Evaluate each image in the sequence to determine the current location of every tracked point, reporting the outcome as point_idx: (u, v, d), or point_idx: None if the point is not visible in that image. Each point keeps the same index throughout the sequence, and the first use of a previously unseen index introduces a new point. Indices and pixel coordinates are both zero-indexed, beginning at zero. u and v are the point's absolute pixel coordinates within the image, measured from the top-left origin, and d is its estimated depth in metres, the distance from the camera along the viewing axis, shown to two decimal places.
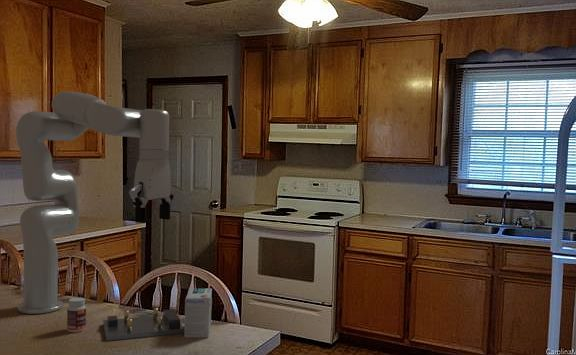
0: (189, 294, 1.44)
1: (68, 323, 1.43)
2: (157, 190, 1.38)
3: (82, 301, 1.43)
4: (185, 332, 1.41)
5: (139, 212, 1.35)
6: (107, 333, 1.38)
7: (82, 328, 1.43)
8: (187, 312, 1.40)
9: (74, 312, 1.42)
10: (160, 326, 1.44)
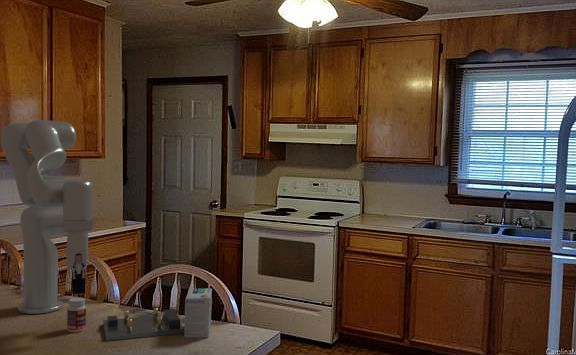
0: (189, 294, 1.44)
1: (68, 323, 1.43)
2: None
3: (82, 301, 1.43)
4: (185, 332, 1.41)
5: (80, 283, 1.38)
6: (107, 333, 1.38)
7: (82, 328, 1.43)
8: (187, 312, 1.40)
9: (74, 312, 1.42)
10: (160, 326, 1.44)
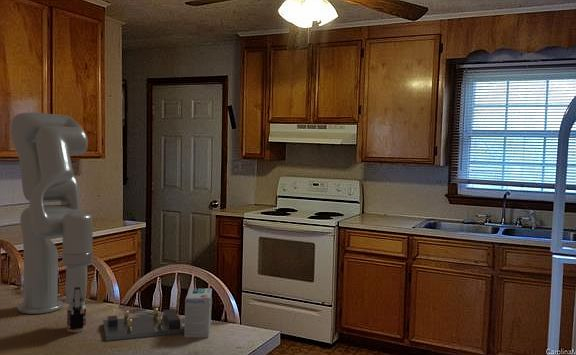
0: (189, 294, 1.44)
1: (68, 323, 1.43)
2: None
3: None
4: (185, 332, 1.41)
5: (78, 319, 1.41)
6: (107, 333, 1.38)
7: (82, 328, 1.43)
8: (187, 312, 1.40)
9: None
10: (160, 326, 1.44)
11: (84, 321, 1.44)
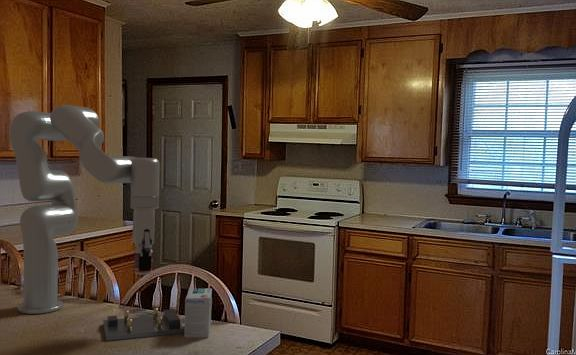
0: (189, 294, 1.44)
1: (136, 266, 1.44)
2: None
3: None
4: (185, 332, 1.41)
5: (146, 261, 1.43)
6: (107, 333, 1.38)
7: (149, 271, 1.45)
8: (187, 312, 1.40)
9: None
10: (160, 326, 1.44)
11: (151, 264, 1.46)
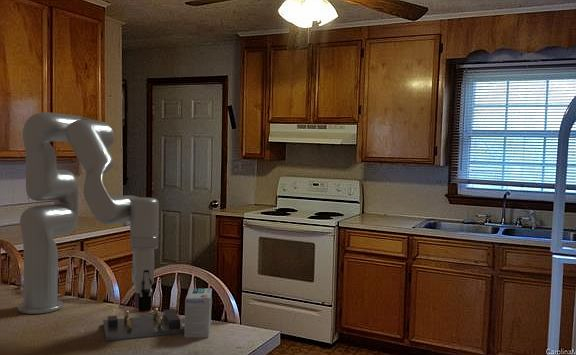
0: (189, 294, 1.44)
1: (136, 306, 1.45)
2: None
3: None
4: (185, 332, 1.41)
5: (146, 301, 1.43)
6: (107, 333, 1.38)
7: (149, 311, 1.45)
8: (187, 312, 1.40)
9: None
10: (160, 326, 1.44)
11: (151, 304, 1.46)
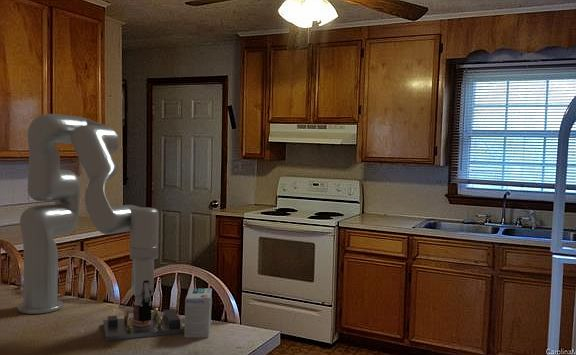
0: (189, 294, 1.44)
1: (135, 317, 1.45)
2: None
3: None
4: (185, 332, 1.41)
5: (146, 311, 1.42)
6: (107, 333, 1.38)
7: (148, 323, 1.46)
8: (187, 312, 1.40)
9: None
10: (160, 326, 1.44)
11: None
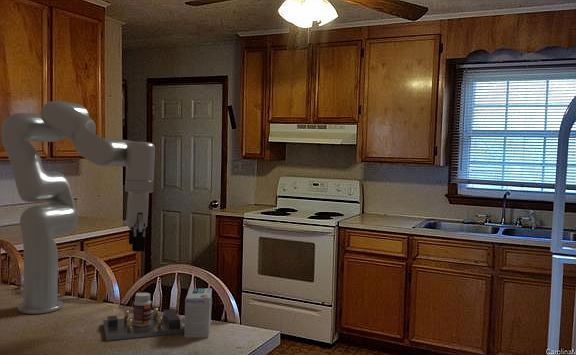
0: (189, 294, 1.44)
1: (135, 318, 1.45)
2: None
3: (148, 296, 1.46)
4: (185, 332, 1.41)
5: (140, 241, 1.42)
6: (107, 333, 1.38)
7: (148, 323, 1.46)
8: (187, 312, 1.40)
9: (141, 306, 1.44)
10: (160, 326, 1.44)
11: (150, 316, 1.46)
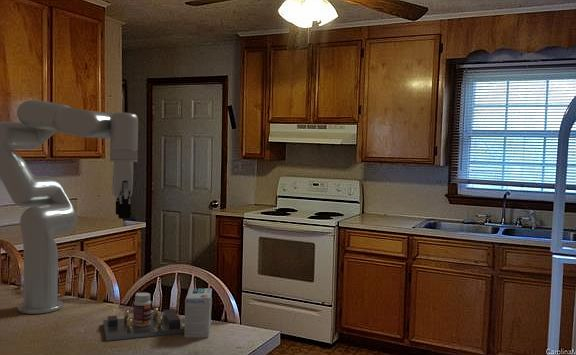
0: (189, 294, 1.44)
1: (135, 318, 1.45)
2: None
3: (148, 296, 1.46)
4: (185, 332, 1.41)
5: (126, 208, 1.46)
6: (107, 333, 1.38)
7: (148, 323, 1.46)
8: (187, 312, 1.40)
9: (141, 306, 1.44)
10: (160, 326, 1.44)
11: (150, 316, 1.46)
